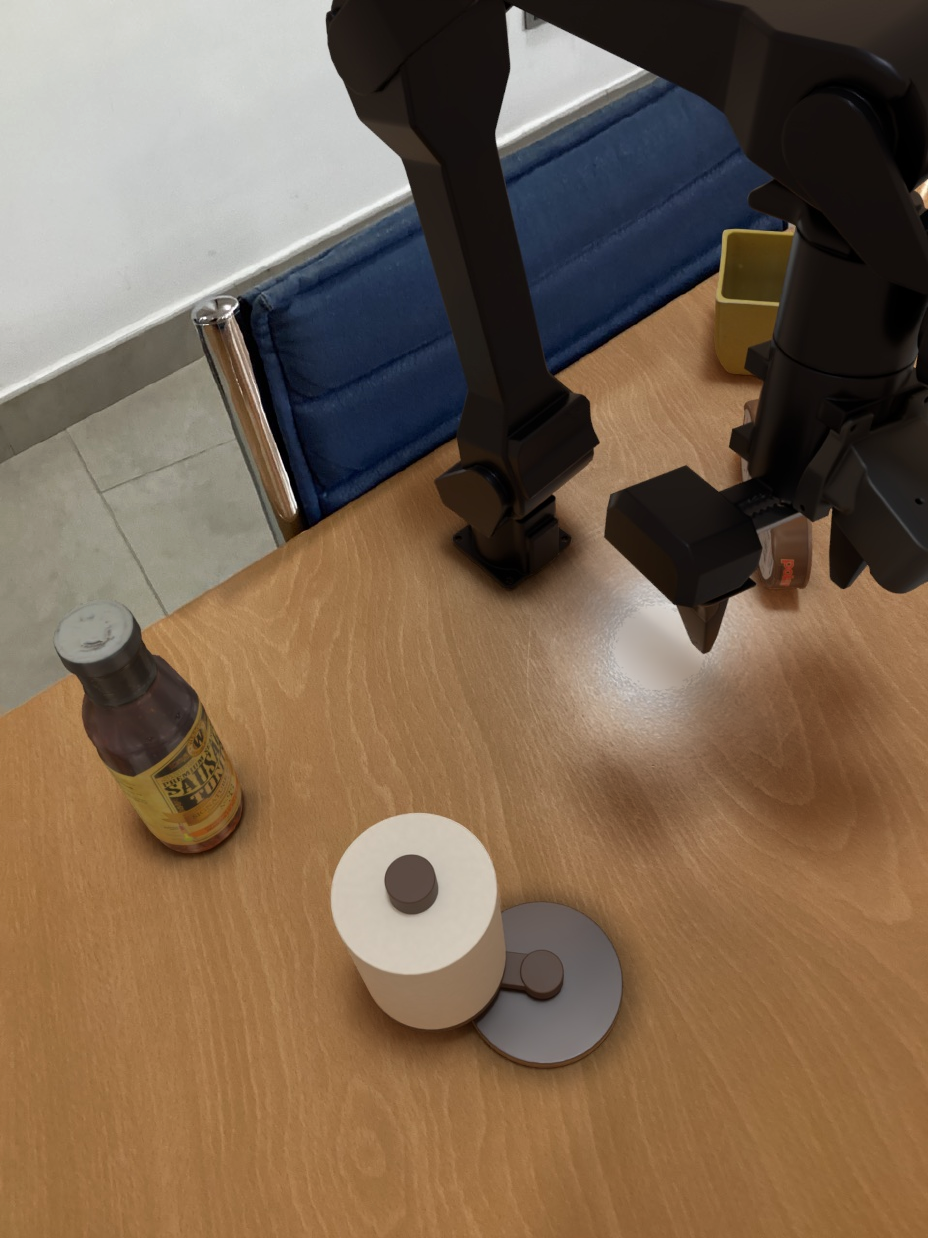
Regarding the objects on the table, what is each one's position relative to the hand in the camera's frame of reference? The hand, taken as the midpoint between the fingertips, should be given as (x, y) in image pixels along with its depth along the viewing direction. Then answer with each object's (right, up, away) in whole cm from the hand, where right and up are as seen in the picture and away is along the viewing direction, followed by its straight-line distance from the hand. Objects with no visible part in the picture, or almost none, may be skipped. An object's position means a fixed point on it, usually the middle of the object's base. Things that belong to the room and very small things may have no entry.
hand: (771, 615), depth 54 cm
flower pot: (+9, +21, +34) cm, 41 cm away
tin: (+6, +6, +24) cm, 25 cm away
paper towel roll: (-16, -20, +6) cm, 26 cm away
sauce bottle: (-33, -13, +14) cm, 38 cm away
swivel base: (-11, -21, +6) cm, 24 cm away
